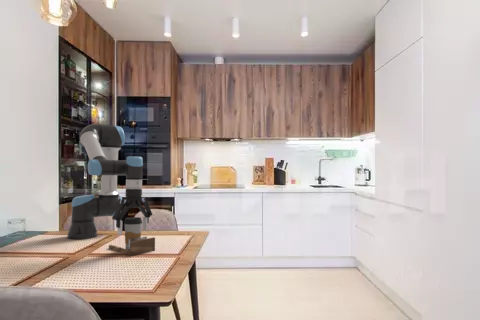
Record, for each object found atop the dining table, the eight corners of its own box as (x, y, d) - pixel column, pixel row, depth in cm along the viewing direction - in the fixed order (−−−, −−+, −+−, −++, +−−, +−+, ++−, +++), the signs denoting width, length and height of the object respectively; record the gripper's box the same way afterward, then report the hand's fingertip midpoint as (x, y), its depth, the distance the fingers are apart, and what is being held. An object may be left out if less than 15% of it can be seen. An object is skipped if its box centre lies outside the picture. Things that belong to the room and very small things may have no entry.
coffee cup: (144, 248, 158) (145, 217, 158) (137, 252, 149) (138, 219, 150) (128, 247, 159) (128, 216, 159) (120, 251, 150) (121, 219, 151)
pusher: (128, 252, 148) (128, 239, 148) (145, 248, 155) (145, 236, 155) (132, 253, 146) (133, 240, 146) (150, 250, 153) (150, 237, 153)
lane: (108, 248, 156) (108, 235, 156) (131, 244, 166) (131, 232, 166) (131, 255, 144) (131, 242, 144) (154, 250, 153) (155, 237, 153)
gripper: (113, 189, 143) (112, 237, 143) (160, 187, 162) (159, 229, 162) (105, 188, 148) (103, 235, 147) (151, 186, 167) (150, 227, 167)
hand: (132, 232), depth 155 cm, fingers open, 13 cm apart
